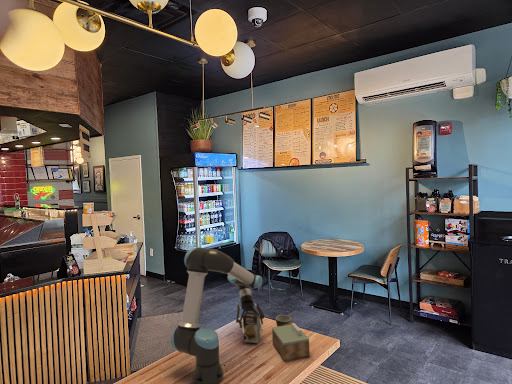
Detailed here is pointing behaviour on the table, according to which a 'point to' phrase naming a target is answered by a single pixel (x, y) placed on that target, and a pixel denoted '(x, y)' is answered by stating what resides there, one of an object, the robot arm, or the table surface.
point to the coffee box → (251, 327)
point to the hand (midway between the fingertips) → (252, 331)
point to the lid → (290, 334)
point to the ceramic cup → (283, 320)
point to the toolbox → (291, 349)
